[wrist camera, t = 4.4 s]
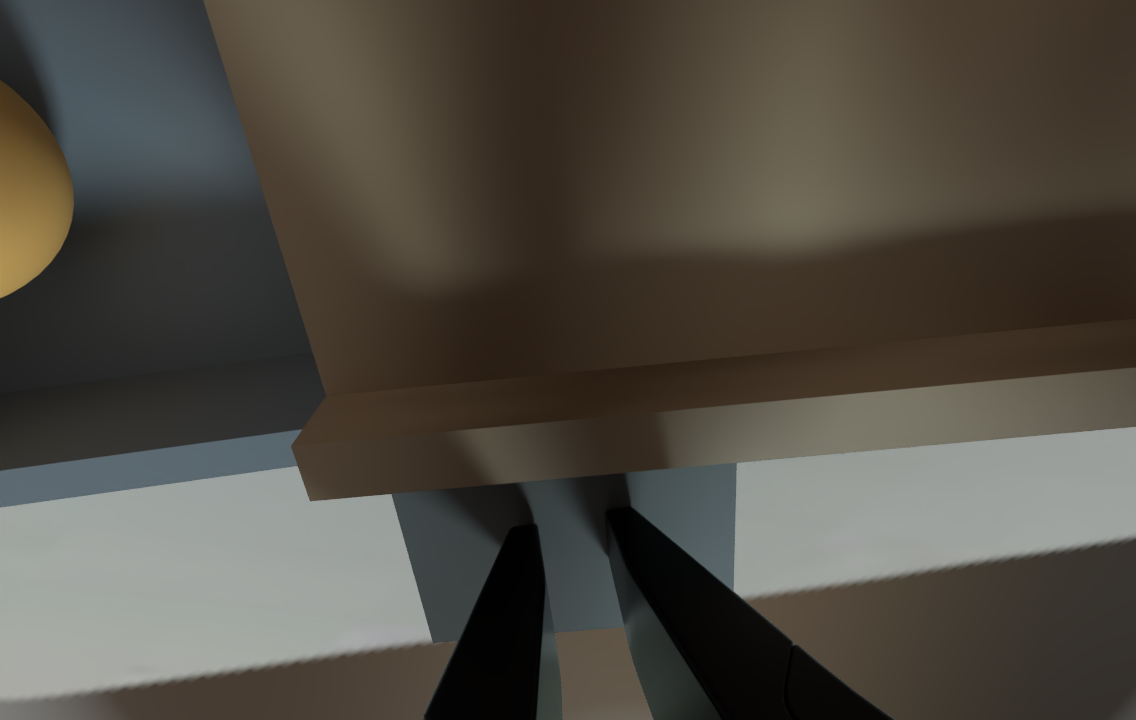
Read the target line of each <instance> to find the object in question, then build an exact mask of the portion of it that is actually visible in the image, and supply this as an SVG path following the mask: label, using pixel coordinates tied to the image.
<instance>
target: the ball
mask: <svg viewBox="0 0 1136 720" xmlns="http://www.w3.org/2000/svg"><path fill="white" fill-rule="evenodd" d="M73 209H74V191H73V184H72V179H71V174H70V170H69V167H68V164H67V162H66V159H65V156H64V154H63V152H62V150H61V148H60V146H59V144H58V142H57V140H56V138H55V137H54V135H53V134H52V133H51V131H50V130H49V128H48V127H47V125H46V124H45V122H44V121H43V120H42V119H41V118H40V116H39V115H38V114H37V113H36V112H35V111H34V109H33V108H32V107H31V106H30V105H29V104H28V103H27V102H26V101H25V100H24V99H23V98H22V97H20V96H19V95H18V94H17V93H16V92H15V91H14V90H13V89H12V88H10V87H9V86H8V85H6V84H5V83H4V82H2V81H1V80H0V298H2V297H4V296H7V295H9V294H10V293H12V292H14V291H16V290H17V289H19V288H21V287H23V286H24V285H26V284H27V283H28V282H30V281H31V280H32V279H34V278H35V277H36V276H38V275H39V274H40V273H41V272H42V271H43V270H44V269H45V268H46V267H47V266H48V265H49V264H50V263H51V262H52V260H53V259H54V257H55V256H56V255H57V253H58V252H59V250H60V249H61V247H62V245H63V243H64V241H65V239H66V237H67V235H68V232H69V228H70V225H71V222H72V217H73Z"/></svg>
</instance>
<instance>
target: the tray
mask: <svg viewBox="0 0 1136 720" xmlns="http://www.w3.org/2000/svg"><path fill="white" fill-rule="evenodd" d="M0 80H1V81H2V82H4V83H5V84H6V85H8V86H9V87H10V88H12V89H13V90H14V91H15V92H16V93H17V94H18V95H19V96H20V97H22V98H23V99H24V100H25V101H26V102H27V103H28V104H29V105H30V106H31V107H32V108H33V109H34V111H35V112H36V113H37V114H38V115H39V116H40V118H41V119H42V120H43V121H44V122H45V124H46V125H47V127H48V128H49V130H50V131H51V133H52V134H53V135H54V137H55V138H56V140H57V142H58V144H59V146H60V148H61V150H62V152H63V154H64V156H65V159H66V162H67V164H68V167H69V170H70V174H71V179H72V184H73V191H74V209H73V217H72V222H71V225H70V228H69V232H68V235H67V237H66V239H65V241H64V243H63V245H62V247H61V249H60V250H59V252H58V253H57V255H56V256H55V257H54V259H53V260H52V262H51V263H50V264H49V265H48V266H47V267H46V268H45V269H44V270H43V271H42V272H41V273H40V274H39V275H38V276H36V277H35V278H34V279H32V280H31V281H30V282H28V283H27V284H26V285H24V286H23V287H21V288H19V289H17V290H16V291H14V292H12V293H10V294H9V295H7V296H4V297H2V298H0V507H6V506H14V505H21V504H28V503H35V502H42V501H49V500H56V499H64V498H71V497H78V496H85V495H92V494H99V493H106V492H114V491H121V490H128V489H135V488H142V487H149V486H157V485H164V484H171V483H178V482H185V481H192V480H199V479H207V478H214V477H221V476H228V475H235V474H242V473H249V472H257V471H264V470H271V469H278V468H285V467H292V466H298V465H297V462H296V460H295V457H294V454H293V451H292V448H291V445H292V444H293V442H294V441H295V439H296V438H297V437H298V435H299V434H300V432H301V431H302V430H303V428H304V427H305V425H306V424H307V422H308V421H309V420H310V418H311V417H312V415H313V414H314V413H315V411H316V410H317V408H318V407H319V405H320V404H321V403H322V401H323V400H324V398H325V397H326V393H325V390H324V387H323V384H322V381H321V377H320V374H319V371H318V368H317V364H316V361H315V358H314V355H313V352H312V348H311V345H310V342H309V339H308V336H307V332H306V329H305V326H304V323H303V319H302V316H301V313H300V310H299V307H298V303H297V300H296V297H295V294H294V290H293V287H292V284H291V281H290V278H289V274H288V271H287V268H286V265H285V261H284V258H283V255H282V252H281V249H280V245H279V242H278V239H277V236H276V232H275V229H274V226H273V223H272V220H271V216H270V213H269V210H268V207H267V203H266V200H265V197H264V194H263V191H262V187H261V184H260V181H259V178H258V174H257V171H256V168H255V165H254V162H253V158H252V155H251V152H250V149H249V146H248V142H247V139H246V136H245V133H244V129H243V126H242V123H241V120H240V117H239V113H238V110H237V107H236V104H235V100H234V97H233V94H232V91H231V88H230V84H229V81H228V78H227V75H226V71H225V68H224V65H223V62H222V59H221V55H220V52H219V49H218V46H217V42H216V39H215V36H214V33H213V30H212V26H211V23H210V20H209V17H208V13H207V10H206V7H205V4H204V1H203V0H0Z"/></svg>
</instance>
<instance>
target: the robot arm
mask: <svg viewBox="0 0 1136 720" xmlns="http://www.w3.org/2000/svg"><path fill="white" fill-rule="evenodd" d="M605 526H606V536H607V547H608V556H609V562H610V567H611V572H612V576H613V580H614V584H615V589H616V593H617V597H618V602H619V606H620V610H621V614H622V619H623V623H624V627H625V632H626V636H627V640H628V644H629V648H630V652H631V656H632V659H633V663H634V666H635V669H636V672H637V675H638V678H639V681H640V683H641V686H642V689H643V692H644V694H645V697H646V700H647V702H648V705H649V708H650V711H651V714H652V716H653V719H654V720H895V719H893V718H892V717H891V716H889V715H888V714H886V713H885V712H883V711H882V710H881V709H879V708H878V707H877V706H875V705H874V704H872V703H871V702H870V701H868V700H867V699H866V698H864V697H863V696H861V695H860V694H858V693H857V692H856V691H854V690H853V689H852V688H851V687H849V686H848V685H847V684H845V683H844V682H843V681H842V680H841V679H839V678H838V677H837V676H836V675H834V674H833V673H832V672H830V671H829V670H828V669H827V668H825V667H824V666H823V665H821V664H820V663H819V662H818V661H817V660H815V659H814V658H813V657H812V656H811V655H809V654H808V653H807V652H806V651H805V650H804V649H802V648H801V647H800V646H799V645H794V646H793V641H792V640H791V639H790V638H789V637H788V636H786V635H785V634H784V633H783V632H782V631H780V630H779V629H778V628H777V627H776V626H774V625H773V624H772V623H771V622H769V621H768V620H767V619H766V618H765V617H763V616H762V615H761V614H760V613H759V612H757V611H756V610H755V609H754V608H753V607H752V606H750V605H749V604H748V603H747V602H746V601H744V600H743V599H742V598H741V597H740V596H738V595H737V594H736V593H735V592H734V591H732V590H731V589H730V588H729V587H728V586H726V585H725V584H724V583H723V582H722V581H720V580H719V579H718V578H717V577H716V576H714V575H713V574H712V573H711V572H710V571H708V570H707V569H706V568H705V567H704V566H702V565H701V564H700V563H699V562H698V561H696V560H695V559H694V558H693V557H692V556H690V555H689V554H688V553H687V552H686V551H684V550H683V549H682V548H681V547H680V546H678V545H677V544H676V543H675V542H674V541H672V540H671V539H670V538H669V537H668V536H666V535H665V534H664V533H663V532H662V531H660V530H659V529H658V528H657V527H656V526H654V525H653V524H652V523H651V522H650V521H648V520H647V519H646V518H645V517H644V516H642V515H641V514H640V513H639V512H638V511H636V510H635V509H634V508H632V507H630V506H627V507H621V508H616V509H610V510H607V511H606V513H605ZM423 720H562V697H561V678H560V668H559V660H558V653H557V647H556V640H555V633H554V627H553V620H552V614H551V607H550V600H549V594H548V587H547V581H546V574H545V568H544V561H543V555H542V548H541V541H540V535H539V528H538V525H537V524H535V523H530V524H524V525H519V526H514V527H512V528H510V530H509V531H508V533H507V536H506V538H505V540H504V542H503V544H502V546H501V549H500V551H499V553H498V555H497V557H496V559H495V562H494V564H493V566H492V568H491V570H490V572H489V575H488V577H487V579H486V581H485V583H484V585H483V588H482V590H481V592H480V594H479V596H478V598H477V601H476V603H475V605H474V607H473V609H472V611H471V614H470V616H469V618H468V620H467V622H466V624H465V626H464V629H463V631H462V633H461V635H460V637H459V639H458V642H457V644H456V646H455V648H454V650H453V653H452V655H451V657H450V659H449V661H448V664H447V665H446V668H445V670H444V672H443V674H442V676H441V678H440V681H439V683H438V685H437V687H436V690H435V691H434V694H433V696H432V698H431V700H430V702H429V704H428V707H427V709H426V711H425V713H424V719H423Z"/></svg>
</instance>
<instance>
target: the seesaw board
mask: <svg viewBox="0 0 1136 720" xmlns="http://www.w3.org/2000/svg"><path fill="white" fill-rule="evenodd" d="M203 1H204V4H205V7H206V10H207V13H208V17H209V20H210V23H211V26H212V30H213V33H214V36H215V39H216V42H217V46H218V49H219V52H220V55H221V59H222V62H223V65H224V68H225V71H226V75H227V78H228V81H229V84H230V88H231V91H232V94H233V97H234V100H235V104H236V107H237V110H238V113H239V117H240V120H241V123H242V126H243V129H244V133H245V136H246V139H247V142H248V146H249V149H250V152H251V155H252V158H253V162H254V165H255V168H256V171H257V174H258V178H259V181H260V184H261V187H262V191H263V194H264V197H265V200H266V203H267V207H268V210H269V213H270V216H271V220H272V223H273V226H274V229H275V232H276V236H277V239H278V242H279V245H280V249H281V252H282V255H283V258H284V261H285V265H286V268H287V271H288V274H289V278H290V281H291V284H292V287H293V290H294V294H295V297H296V300H297V303H298V307H299V310H300V313H301V316H302V319H303V323H304V326H305V329H306V332H307V336H308V339H309V342H310V345H311V348H312V352H313V355H314V358H315V361H316V364H317V368H318V371H319V374H320V377H321V381H322V384H323V387H324V390H325V393H326V397H325V398H324V400H323V401H322V403H321V404H320V405H319V407H318V408H317V410H316V411H315V413H314V414H313V415H312V417H311V418H310V420H309V421H308V422H307V424H306V425H305V427H304V428H303V430H302V431H301V432H300V434H299V435H298V437H297V438H296V439H295V441H294V442H293V444H292V445H291V448H292V451H293V454H294V457H295V460H296V462H297V465H298V468H299V471H300V474H301V477H302V479H303V482H304V485H305V488H306V491H307V494H308V496H309V499H310V501H318V500H329V499H340V498H351V497H362V496H373V495H384V494H392V497H393V501H394V505H395V508H396V512H397V515H398V519H399V522H400V526H401V530H402V533H403V537H404V540H405V544H406V548H407V551H408V555H409V558H410V562H411V565H412V569H413V573H414V576H415V580H416V583H417V587H418V590H419V594H420V598H421V601H422V605H423V608H424V612H425V615H426V619H427V623H428V626H429V630H430V633H431V637H432V640H433V643H436V642H449V641H458V639H459V637H460V635H461V633H462V631H463V629H464V626H465V624H466V622H467V620H468V618H469V616H470V614H471V611H472V609H473V607H474V605H475V603H476V601H477V598H478V596H479V594H480V592H481V590H482V588H483V585H484V583H485V581H486V579H487V577H488V575H489V572H490V570H491V568H492V566H493V564H494V562H495V559H496V557H497V555H498V553H499V551H500V549H501V546H502V544H503V542H504V540H505V538H506V536H507V533H508V531H509V530H510V528H512V527H514V526H519V525H524V524H530V523H535V524H537V525H538V528H539V535H540V541H541V548H542V555H543V561H544V568H545V574H546V581H547V587H548V594H549V600H550V607H551V614H552V620H553V627H554V633H557V632H569V631H581V630H593V629H606V628H617V627H624V623H623V619H622V614H621V610H620V606H619V602H618V597H617V593H616V589H615V584H614V580H613V576H612V572H611V567H610V562H609V556H608V547H607V536H606V526H605V513H606V511H607V510H610V509H616V508H621V507H627V506H630V507H632V508H634V509H635V510H636V511H638V512H639V513H640V514H641V515H642V516H644V517H645V518H646V519H647V520H648V521H650V522H651V523H652V524H653V525H654V526H656V527H657V528H658V529H659V530H660V531H662V532H663V533H664V534H665V535H666V536H668V537H669V538H670V539H671V540H672V541H674V542H675V543H676V544H677V545H678V546H680V547H681V548H682V549H683V550H684V551H686V552H687V553H688V554H689V555H690V556H692V557H693V558H694V559H695V560H696V561H698V562H699V563H700V564H701V565H702V566H704V567H705V568H706V569H707V570H708V571H710V572H711V573H712V574H713V575H714V576H716V577H717V578H718V579H719V580H720V581H722V582H723V583H724V584H725V585H726V586H728V587H729V588H730V589H731V590H732V591H733V585H734V545H735V505H736V464H737V463H738V462H750V461H761V460H772V459H783V458H794V457H805V456H816V455H827V454H838V453H849V452H860V451H871V450H882V449H894V448H905V447H916V446H927V445H938V444H949V443H960V442H971V441H982V440H993V439H1004V438H1015V437H1026V436H1038V435H1049V434H1060V433H1071V432H1082V431H1093V430H1104V429H1115V428H1126V427H1136V0H203Z"/></svg>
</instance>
